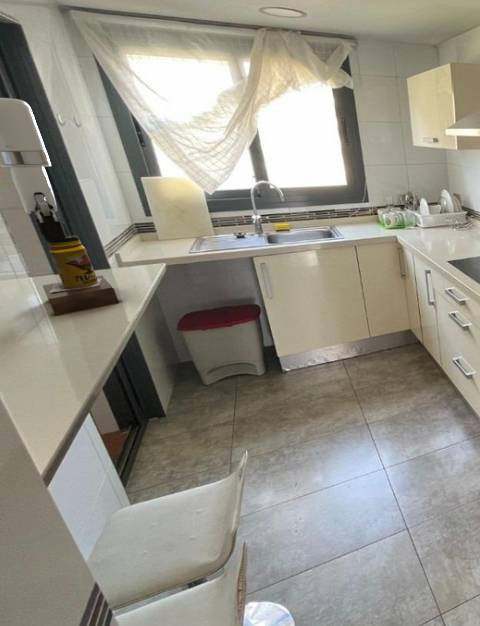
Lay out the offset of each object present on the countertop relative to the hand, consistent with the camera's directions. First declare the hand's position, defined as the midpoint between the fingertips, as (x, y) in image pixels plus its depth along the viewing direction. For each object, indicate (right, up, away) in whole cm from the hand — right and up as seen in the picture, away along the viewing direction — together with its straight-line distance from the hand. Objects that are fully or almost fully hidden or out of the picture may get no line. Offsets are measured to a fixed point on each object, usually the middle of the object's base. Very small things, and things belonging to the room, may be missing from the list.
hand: (53, 237), depth 106 cm
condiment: (0, -11, +5) cm, 12 cm away
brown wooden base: (0, -15, +6) cm, 16 cm away
